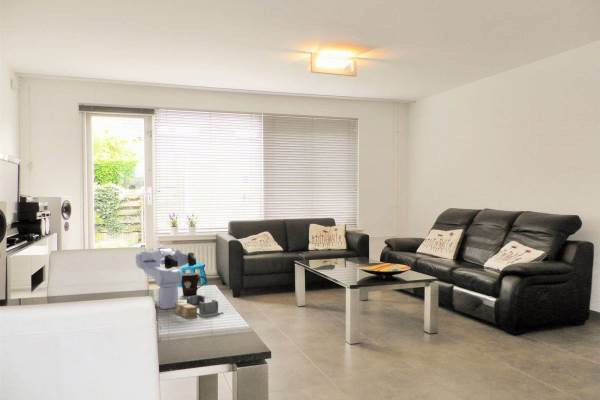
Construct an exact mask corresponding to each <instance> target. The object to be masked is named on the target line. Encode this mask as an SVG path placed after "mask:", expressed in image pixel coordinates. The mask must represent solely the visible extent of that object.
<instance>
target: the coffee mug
mask: <svg viewBox="0 0 600 400" xmlns="http://www.w3.org/2000/svg"><path fill="white" fill-rule="evenodd" d="M181 274H182V280H181V282H180V284H181V288H182V289H181V290H182V295H184V296H183V297H191V296H198V295H197V294H198V290H199V288H201V287H203V286H204V285H205V284H206V282H207V278H206V277H205V276H203V275H202V276H199V273H198V272H183V273H181ZM200 278H203V279H204V282H203V283H202V284H201V285H200V286H198V285H199V284H198V283H199V280H200Z"/></svg>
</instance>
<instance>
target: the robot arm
mask: <svg viewBox="0 0 600 400" xmlns="http://www.w3.org/2000/svg"><path fill="white" fill-rule="evenodd" d="M135 264H136V266H137V268H139V269H141V270H142V271H143V272H144V273H145V275H146V276H148V277H150V278H152V279H154V281H155V284H156V285H157V286H158V287H159V289H158V291H157V297H158V298H157V299H158V303H157V304H156V305H157V307H158V308H160V309H163V310H166V309H167V310H168V309H173V308H174V309H175V303H177V302H179V291H178V290H179V289H178V287H179V285H180V284H181V280H182V274H183V273H182V271H181V270H180V269H179V268H181V267H183V266H185V265H187V264H188V267H194V266H196V265H197V256H195V254H194V253H193V252H188V253H187V254H185V253H182V252H181V250H179V249H178V250H177V249H176V250H175V249H174V248H172V247H171V248H166V247H157V248H156V249H154V250H144V251H140V252H137V253H136V254H135ZM161 265H164V268H162V267H161ZM172 268H177V269H172ZM169 269H170V270H169Z"/></svg>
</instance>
